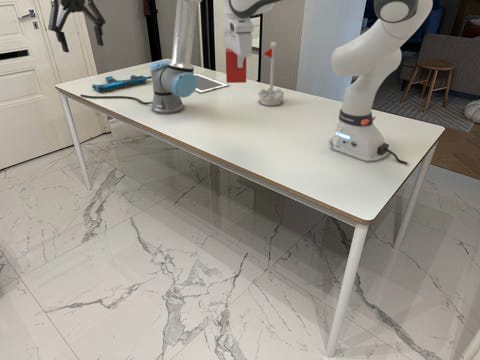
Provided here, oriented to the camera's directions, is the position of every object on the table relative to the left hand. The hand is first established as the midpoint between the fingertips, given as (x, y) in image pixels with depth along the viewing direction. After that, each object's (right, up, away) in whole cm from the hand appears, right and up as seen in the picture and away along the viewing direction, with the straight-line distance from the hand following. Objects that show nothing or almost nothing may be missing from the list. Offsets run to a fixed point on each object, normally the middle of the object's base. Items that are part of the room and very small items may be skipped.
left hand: (84, 48), depth 124 cm
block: (+56, -12, +1) cm, 57 cm away
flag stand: (+73, -7, +56) cm, 93 cm away
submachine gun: (-15, +11, +83) cm, 85 cm away
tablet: (+32, +11, +84) cm, 91 cm away
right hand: (+56, -7, -3) cm, 56 cm away
